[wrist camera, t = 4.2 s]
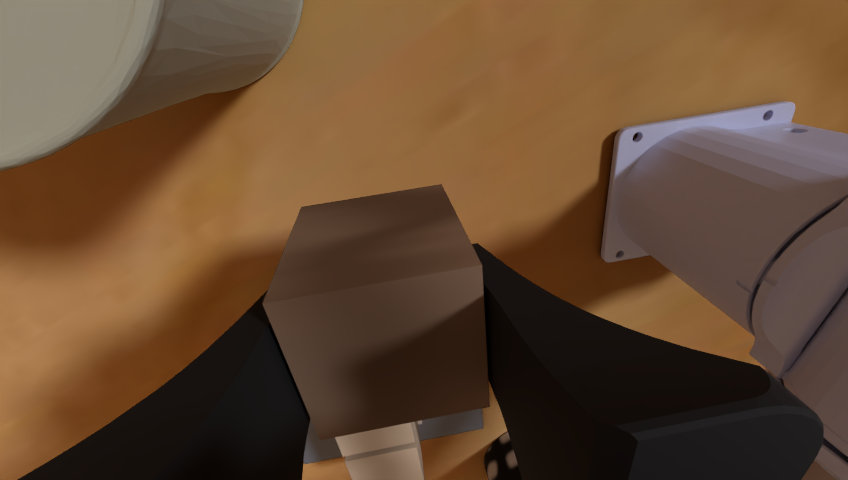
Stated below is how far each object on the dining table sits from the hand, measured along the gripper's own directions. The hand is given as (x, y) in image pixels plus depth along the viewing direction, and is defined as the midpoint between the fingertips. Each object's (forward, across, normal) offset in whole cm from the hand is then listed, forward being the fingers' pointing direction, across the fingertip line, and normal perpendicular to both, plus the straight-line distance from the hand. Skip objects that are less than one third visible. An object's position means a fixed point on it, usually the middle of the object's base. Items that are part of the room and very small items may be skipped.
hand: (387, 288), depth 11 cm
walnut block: (+2, 0, 0) cm, 2 cm away
